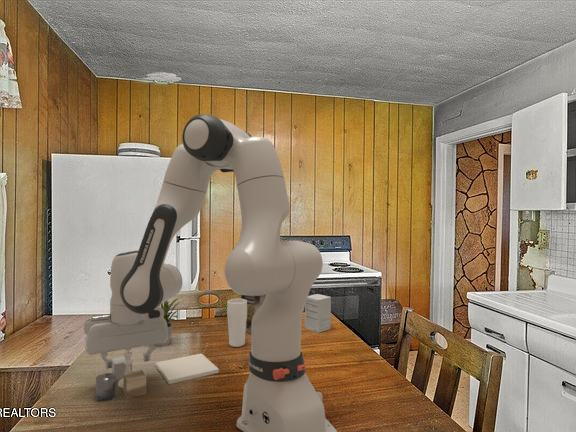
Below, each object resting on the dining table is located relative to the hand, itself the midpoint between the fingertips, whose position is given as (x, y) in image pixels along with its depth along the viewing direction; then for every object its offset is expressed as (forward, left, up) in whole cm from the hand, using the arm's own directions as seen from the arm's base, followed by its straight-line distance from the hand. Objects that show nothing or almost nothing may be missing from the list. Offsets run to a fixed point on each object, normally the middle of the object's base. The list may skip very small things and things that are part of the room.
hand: (128, 364), depth 104 cm
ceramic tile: (0, -16, -5) cm, 17 cm away
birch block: (-7, 0, -5) cm, 8 cm away
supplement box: (+11, -71, -5) cm, 72 cm away
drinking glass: (+11, -37, -5) cm, 39 cm away
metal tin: (-6, +6, -5) cm, 10 cm away
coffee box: (+21, -49, -5) cm, 54 cm away
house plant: (+25, -17, -5) cm, 31 cm away
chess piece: (-1, 0, -5) cm, 5 cm away
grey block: (+5, +1, -5) cm, 7 cm away
